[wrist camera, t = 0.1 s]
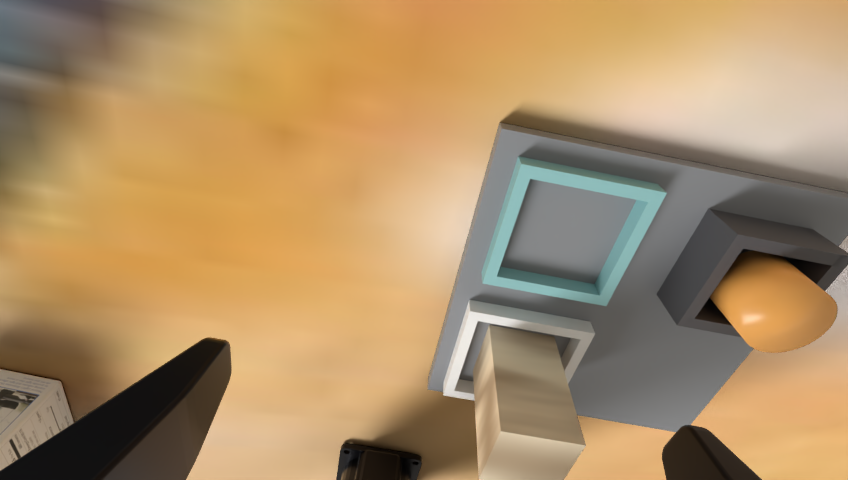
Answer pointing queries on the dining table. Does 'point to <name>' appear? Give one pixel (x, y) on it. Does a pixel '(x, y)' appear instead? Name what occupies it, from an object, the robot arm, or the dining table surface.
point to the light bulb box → (29, 413)
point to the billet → (523, 408)
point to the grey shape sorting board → (624, 268)
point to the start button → (773, 303)
